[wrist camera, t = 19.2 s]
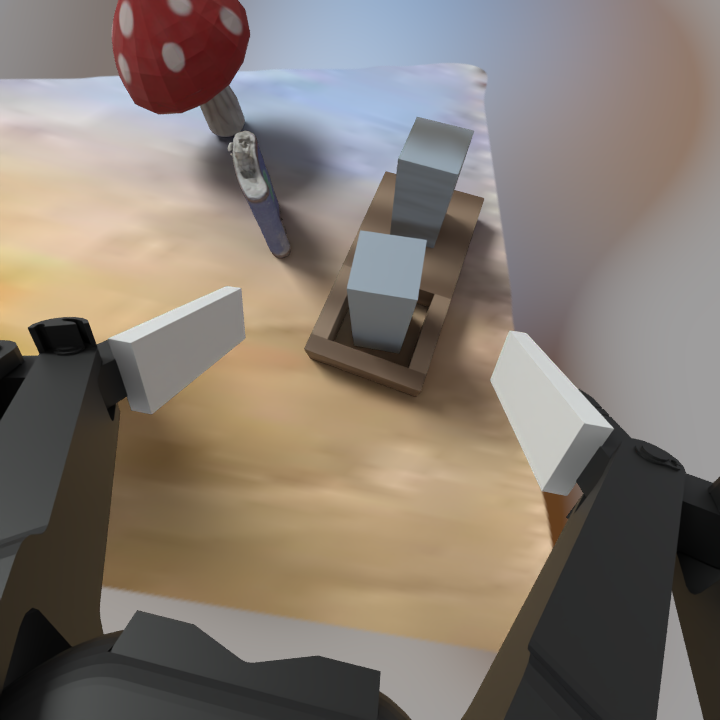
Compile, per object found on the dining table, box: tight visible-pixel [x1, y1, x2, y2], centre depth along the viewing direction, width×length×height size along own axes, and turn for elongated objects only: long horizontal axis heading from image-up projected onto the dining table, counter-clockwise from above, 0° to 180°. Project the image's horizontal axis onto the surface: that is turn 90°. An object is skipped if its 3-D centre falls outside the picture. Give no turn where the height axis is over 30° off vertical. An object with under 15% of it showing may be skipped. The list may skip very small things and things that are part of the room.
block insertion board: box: [304, 117, 484, 397], centre depth 28 cm, size 24×12×12 cm, turn 159°
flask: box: [228, 131, 290, 258], centre depth 32 cm, size 9×3×11 cm, turn 16°
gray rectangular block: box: [347, 230, 427, 353], centre depth 27 cm, size 5×5×12 cm
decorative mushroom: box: [112, 0, 250, 137], centre depth 34 cm, size 16×16×15 cm
